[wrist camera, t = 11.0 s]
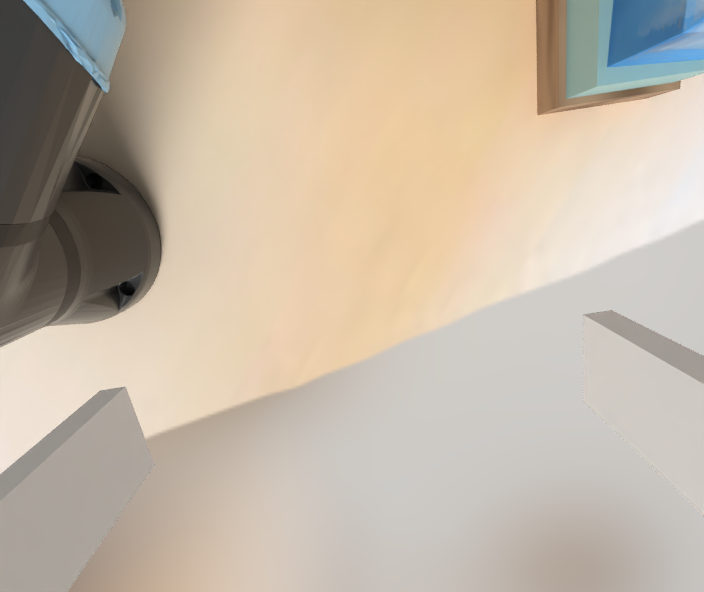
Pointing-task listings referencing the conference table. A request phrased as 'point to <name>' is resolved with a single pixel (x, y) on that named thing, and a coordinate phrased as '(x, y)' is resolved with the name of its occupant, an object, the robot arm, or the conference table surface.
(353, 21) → the conference table surface
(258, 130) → the conference table surface
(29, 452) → the robot arm
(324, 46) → the conference table surface
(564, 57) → the walnut slab
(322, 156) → the conference table surface
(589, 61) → the teal slab
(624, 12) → the perfume bottle
